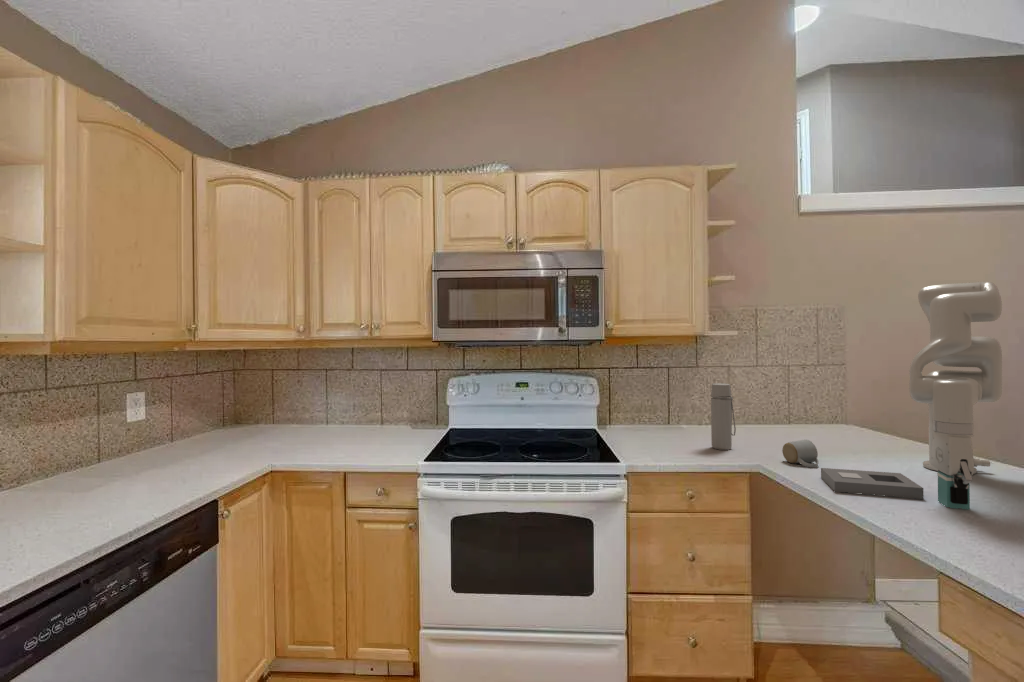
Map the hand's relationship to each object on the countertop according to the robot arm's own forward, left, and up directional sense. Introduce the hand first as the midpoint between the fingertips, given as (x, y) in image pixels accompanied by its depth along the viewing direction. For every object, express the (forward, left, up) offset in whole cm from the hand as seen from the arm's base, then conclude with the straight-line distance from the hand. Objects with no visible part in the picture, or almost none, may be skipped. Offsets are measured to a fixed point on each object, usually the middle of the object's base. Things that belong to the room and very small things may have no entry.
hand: (953, 499), depth 120 cm
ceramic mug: (+26, -33, -2) cm, 42 cm away
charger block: (0, 0, -2) cm, 2 cm away
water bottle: (+50, -49, -2) cm, 70 cm away
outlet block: (+15, -10, -2) cm, 18 cm away
